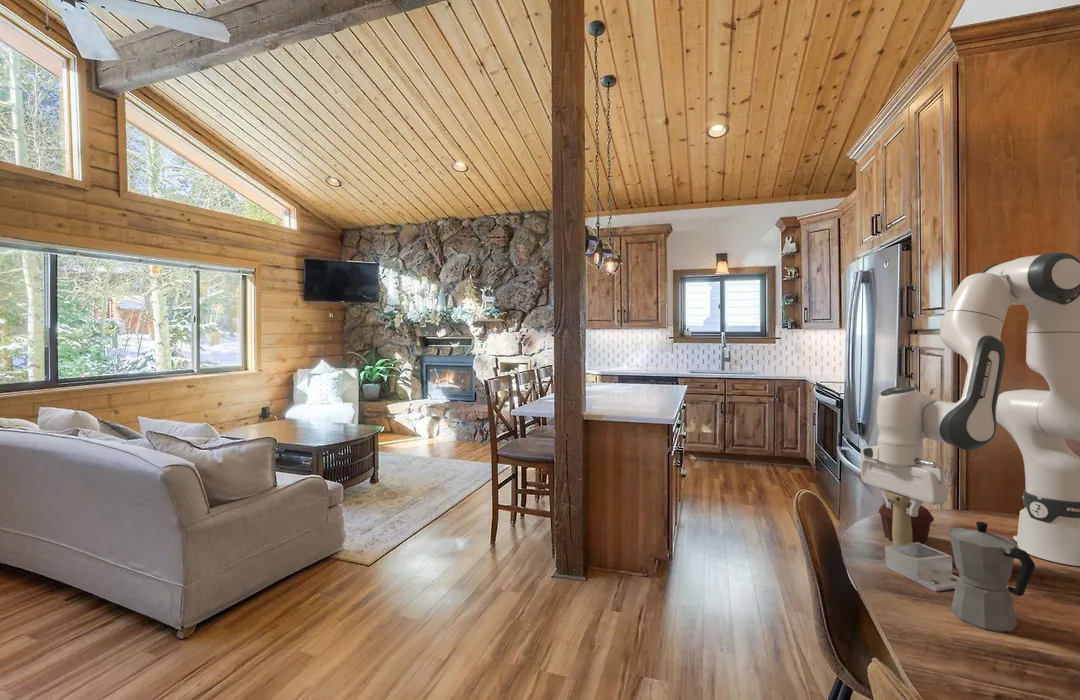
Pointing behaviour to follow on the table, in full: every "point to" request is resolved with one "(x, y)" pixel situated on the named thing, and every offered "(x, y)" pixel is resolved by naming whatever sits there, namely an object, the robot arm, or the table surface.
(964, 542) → the coffeepot
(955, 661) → the table surface
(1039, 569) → the table surface
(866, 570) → the table surface
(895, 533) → the handle
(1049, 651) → the table surface
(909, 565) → the flanged open box
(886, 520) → the muffin
